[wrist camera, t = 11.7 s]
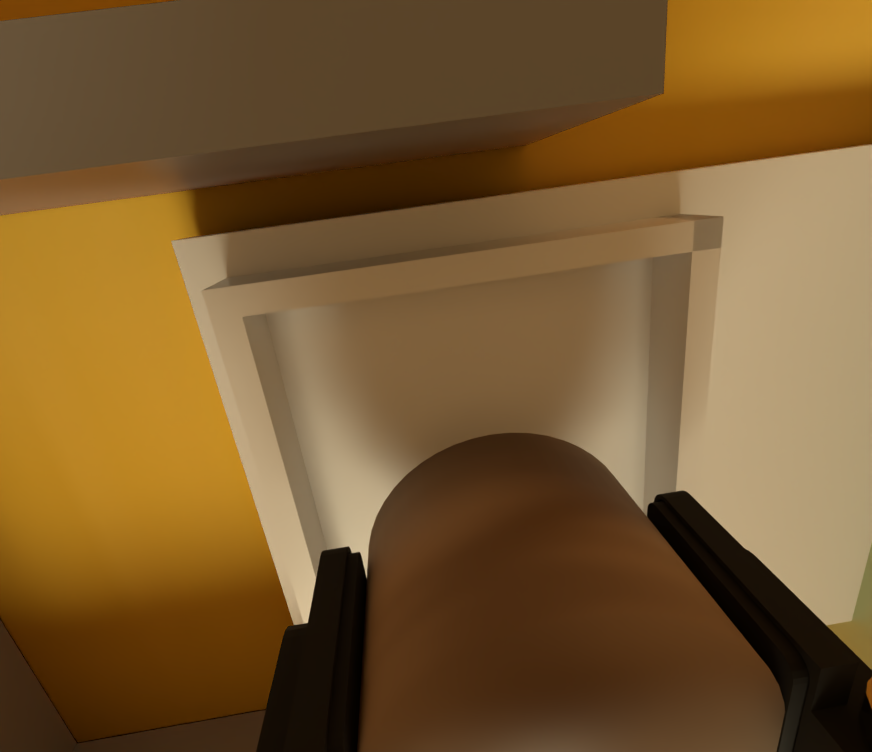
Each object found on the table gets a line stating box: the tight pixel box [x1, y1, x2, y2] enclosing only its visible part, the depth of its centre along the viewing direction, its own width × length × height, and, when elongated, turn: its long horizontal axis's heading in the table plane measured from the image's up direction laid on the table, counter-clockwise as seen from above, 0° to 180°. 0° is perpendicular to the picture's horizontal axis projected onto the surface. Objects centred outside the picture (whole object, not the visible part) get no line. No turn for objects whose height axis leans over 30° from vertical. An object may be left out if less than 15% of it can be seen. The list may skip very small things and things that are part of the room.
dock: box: [0, 0, 668, 752], centre depth 11 cm, size 18×20×6 cm
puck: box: [357, 433, 785, 752], centre depth 9 cm, size 6×6×4 cm
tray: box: [171, 144, 872, 670], centre depth 11 cm, size 19×20×6 cm
